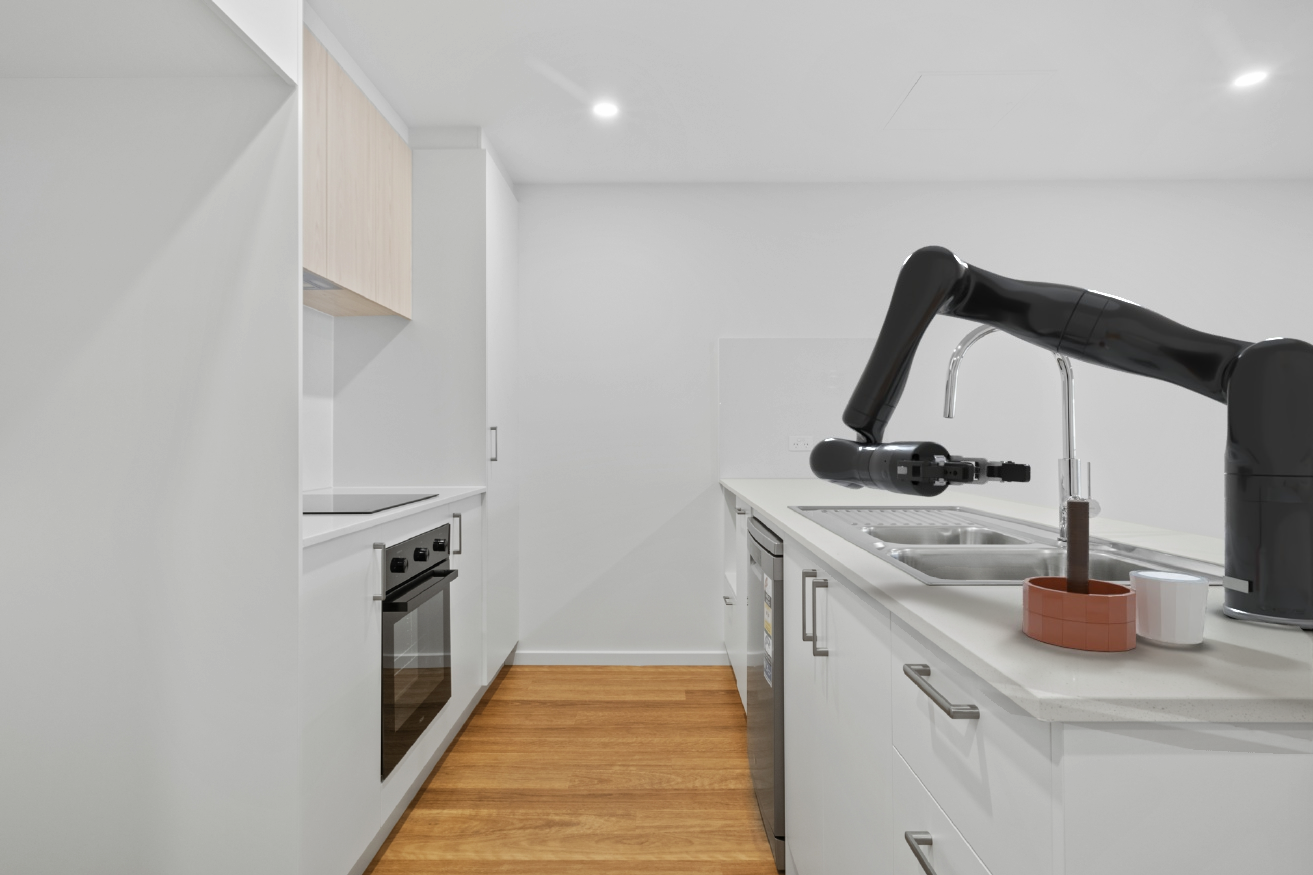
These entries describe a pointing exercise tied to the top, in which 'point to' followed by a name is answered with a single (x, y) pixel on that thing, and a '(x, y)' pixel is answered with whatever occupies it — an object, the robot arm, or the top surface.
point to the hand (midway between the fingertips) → (1000, 473)
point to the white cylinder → (1170, 605)
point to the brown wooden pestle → (1078, 546)
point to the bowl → (1080, 614)
